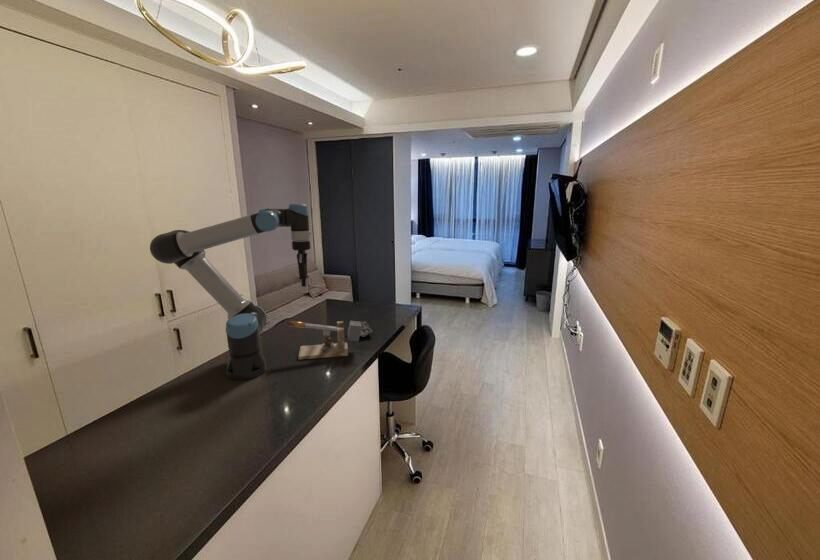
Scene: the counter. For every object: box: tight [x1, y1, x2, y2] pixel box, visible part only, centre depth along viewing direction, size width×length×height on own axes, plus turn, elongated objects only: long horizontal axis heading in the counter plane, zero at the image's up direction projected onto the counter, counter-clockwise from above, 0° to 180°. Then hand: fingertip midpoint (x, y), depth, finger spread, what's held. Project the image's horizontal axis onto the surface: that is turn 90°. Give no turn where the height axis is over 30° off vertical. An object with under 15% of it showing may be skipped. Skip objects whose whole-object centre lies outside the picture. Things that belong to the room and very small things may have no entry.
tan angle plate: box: [297, 320, 349, 360], centre depth 160 cm, size 22×11×13 cm, turn 102°
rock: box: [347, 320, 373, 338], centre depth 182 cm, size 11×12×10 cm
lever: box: [288, 320, 362, 342], centre depth 158 cm, size 32×6×8 cm, turn 102°
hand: (304, 292), depth 154 cm, fingers closed
